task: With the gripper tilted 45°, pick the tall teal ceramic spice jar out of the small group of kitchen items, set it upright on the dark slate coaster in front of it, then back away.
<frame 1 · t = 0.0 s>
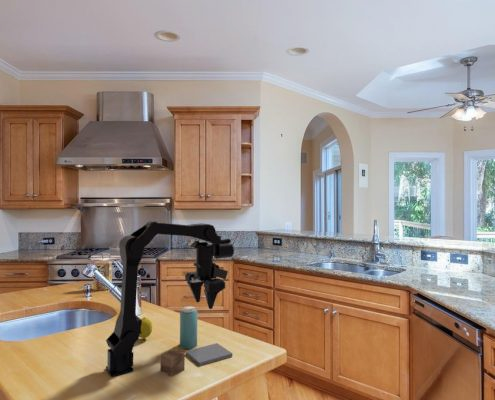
hand: (204, 305, 123), 15 cm above the countertop, tool pointing down, fingers open, 9 cm apart
slate coaster: (208, 355, 117), on the countertop
walnut block: (172, 370, 107), on the countertop
candy box: (102, 289, 202), on the countertop
lemon: (144, 339, 130), on the countertop
spice jar: (188, 345, 125), on the countertop
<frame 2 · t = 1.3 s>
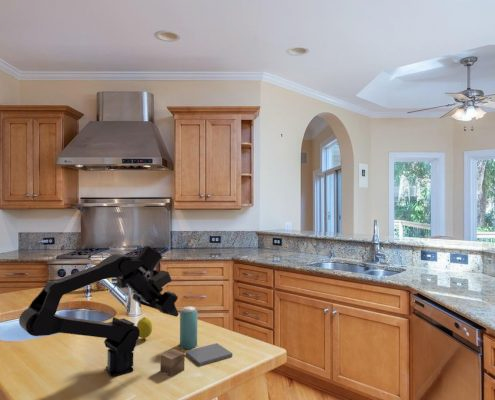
hand: (169, 312, 119), 13 cm above the countertop, tool tilted 45°, fingers open, 9 cm apart
nothing on the countertop moved.
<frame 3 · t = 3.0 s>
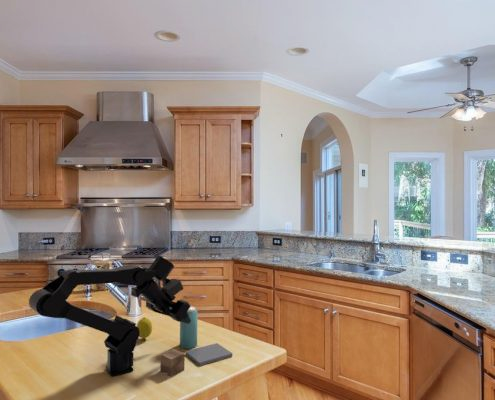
hand: (181, 319, 123), 10 cm above the countertop, tool tilted 45°, fingers open, 9 cm apart
nothing on the countertop moved.
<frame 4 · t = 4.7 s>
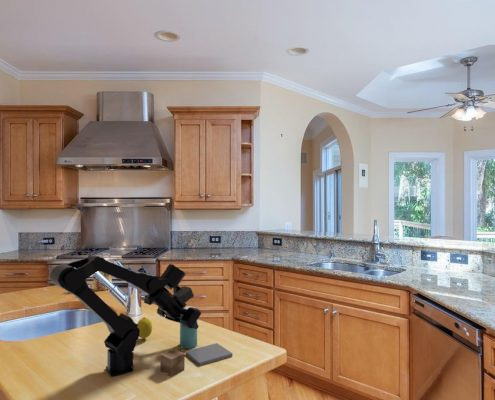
hand: (191, 325, 126), 7 cm above the countertop, tool tilted 45°, fingers closed on spice jar, 6 cm apart
spice jar: (188, 345, 125), on the countertop, touching gripper
everything else where it was.
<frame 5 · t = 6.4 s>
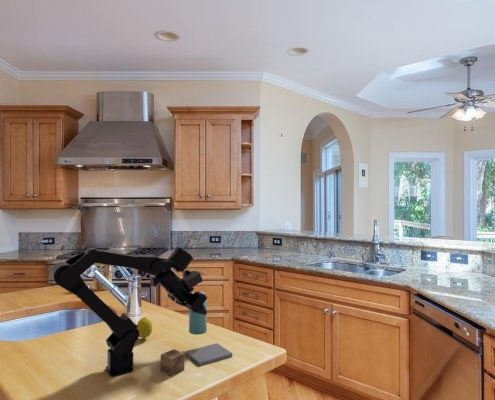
hand: (201, 311, 123), 13 cm above the countertop, tool tilted 45°, fingers closed on spice jar, 6 cm apart
spice jar: (197, 331, 122), point 6 cm above the countertop, touching gripper
everything else where it was.
when the fingers open (8 cm above the countertop, at t = 8.4 s): spice jar stays where it is, resting on slate coaster.
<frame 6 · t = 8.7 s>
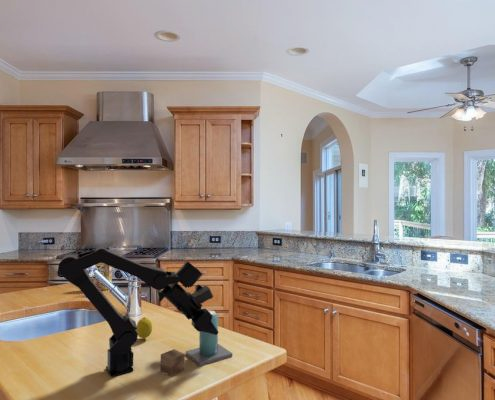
hand: (213, 328, 118), 9 cm above the countertop, tool tilted 45°, fingers open, 9 cm apart
spice jar: (208, 352, 117), point 1 cm above the countertop, touching slate coaster
everything else where it was.
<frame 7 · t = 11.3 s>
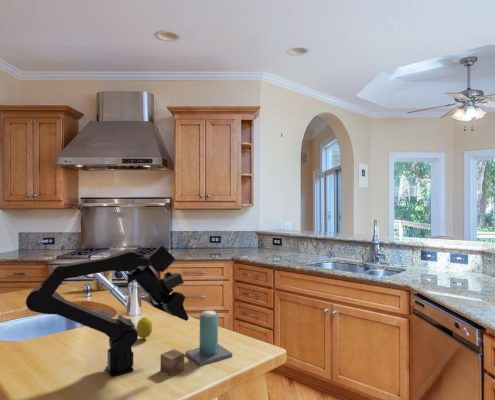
hand: (181, 317, 115), 13 cm above the countertop, tool tilted 40°, fingers open, 9 cm apart
nothing on the countertop moved.
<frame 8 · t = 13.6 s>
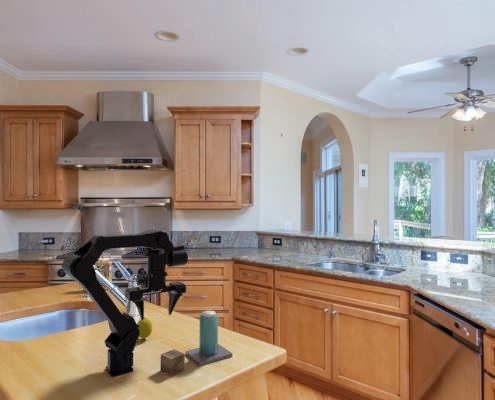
hand: (156, 317, 115), 13 cm above the countertop, tool pointing down, fingers open, 9 cm apart
nothing on the countertop moved.
at the end: spice jar inside the target area on the slate coaster (0.1 cm from its centre), point 1.0 cm above the slate coaster's base; spice jar tilted 0°; the gripper is holding nothing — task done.
